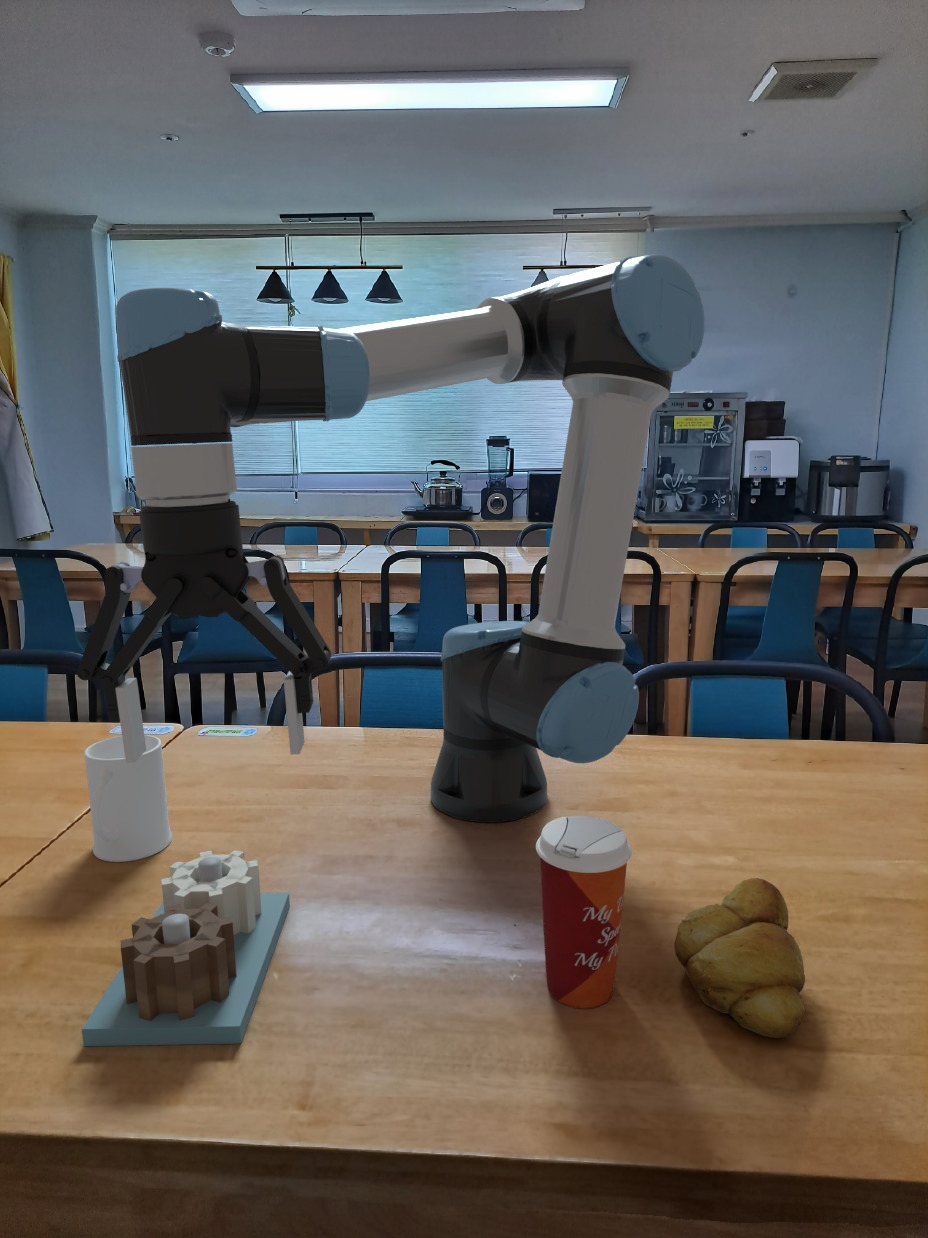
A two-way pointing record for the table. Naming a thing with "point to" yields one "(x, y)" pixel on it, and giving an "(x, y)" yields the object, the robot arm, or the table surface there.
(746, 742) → the table surface
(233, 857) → the cream gear
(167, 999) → the walnut gear
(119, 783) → the mug
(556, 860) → the paper cup
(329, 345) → the robot arm
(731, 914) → the bread roll
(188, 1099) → the table surface
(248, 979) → the gear board
